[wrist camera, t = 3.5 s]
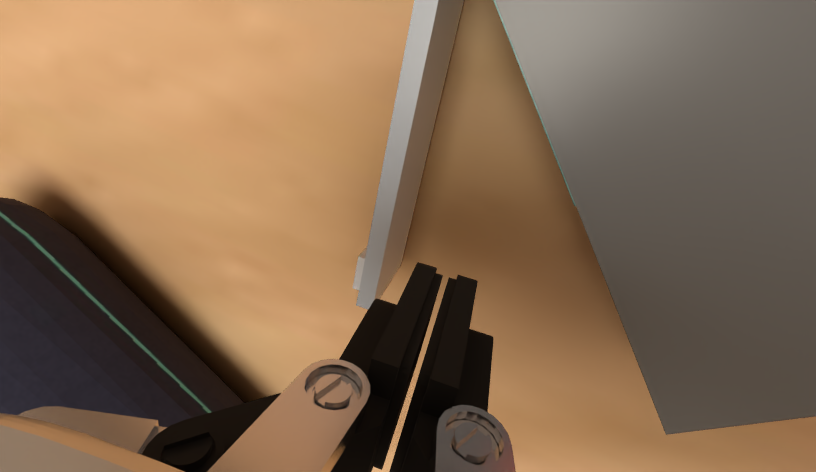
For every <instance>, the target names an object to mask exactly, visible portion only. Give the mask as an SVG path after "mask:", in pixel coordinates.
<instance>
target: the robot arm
mask: <svg viewBox="0 0 816 472" xmlns="http://www.w3.org/2000/svg"><path fill="white" fill-rule="evenodd" d="M436 270H437V268H435V267H432V266H429V265H425V264H422V263H419V262H418V263H417V265H416V267H415V269H414V271H413V273H412V275H411V277H410V279H409V281H408V283H407V285H406V287H405V290H404V292H403V294H402V296H401V298H400V300H399V302H398V304H397V305H395V304H392V303H389V302H386V301H383V300H380V299H377V298H376V299H375V300H374V301H373V303H372V304H371V306H370V308H369V309H368V311H367V313H366V314H365V316H364V318H363V320H362V321H361V323H360V325H359V326H358V328H357V330H356V332H355V333H354V335H353V337H352V338H351V340H350V342H349V344H348V345H347V347H346V349H345V350H344V352H343V354H342V355H341V357H340V359H339V360H338V359H327V360H320V361H318V362H315V363H313V364H311V365H309V366H308V367H307V368H306V369H304V370H303V371H302V372H301V373H300V374H299V375H298V376H297V377H296V379H295V380H294V381H293V382H292V383H291V384H290V385H289V386H288V387H287V388H286V389H285V390H284V391H283V392H282V393H279V394H276V395H272V396H268V397H265V398H261V399H258V400H254V401H250V402H247V403H243V404H240V405H236V406H232V407H229V408H225V409H222V410H218V411H214V412H211V413H207V414H204V415H200V416H197V417H193V418H189V419H186V420H183V421H180V422H178V423H175V424H173V425H170V426H169V427H160V426H159V425H158V420H153V419H146V418H138V417H131V416H124V415H117V414H110V413H103V412H96V411H89V410H81V409H74V408H67V407H60V406H47V407H40V408H36V409H32V410H28V411H25V412H23V413H21V414H19V415H11V414H3V413H0V472H371V471H372V468H373V466H374V467H376V468H379V469H381V470H382V468H383V465H384V462H385V459H386V456H387V453H388V450H389V446H390V443H391V440H392V437H393V434H394V431H395V428H396V425H397V422H398V419H399V416H400V413H401V410H402V407H403V404H404V401H405V397H406V394H407V391H408V388H409V385H410V382H411V379H412V376H413V373H414V370H415V367H416V364H417V361H418V357H419V354H420V351H421V348H422V344H423V341H424V337H425V334H426V331H427V327H428V324H429V321H430V317H431V314H432V310H433V307H434V304H435V300H436V297H437V294H438V290H439V287H440V283H441V280H442V277H443V275H440V274H437V273H436ZM476 287H477V281H476V280H473V279H470V278H467V277H464V276H460V275H458V276H457V279H452V278H449V279H448V282H447V286H446V289H445V292H444V295H443V299H442V302H441V305H440V308H439V312H438V315H437V318H436V321H435V325H434V328H433V331H432V334H431V338H430V341H429V344H428V347H427V351H426V354H425V357H424V360H423V364H422V367H421V370H420V373H419V377H418V380H417V383H416V387H415V390H414V393H413V396H412V400H411V403H410V406H409V410H408V413H407V416H406V419H405V423H404V426H403V429H402V432H401V436H400V439H399V442H398V446H397V449H396V452H395V455H394V459H393V462H392V465H391V469H390V472H516V471H515V465H514V458H513V451H512V445H511V442H510V439H509V435H508V433H507V432H506V430H505V429H504V427H503V425H502V424H501V423H500V422H499V421H498V420H497V419H496V418H495V417H494V416H492V415H491V414H489V413H488V412H487V409H488V397H489V385H490V373H491V361H492V350H493V337H492V336H490V335H487V334H483V333H480V332H477V331H474V330H471V329H469V327H470V322H471V316H472V310H473V304H474V299H475V293H476Z"/></svg>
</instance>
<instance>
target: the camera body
mask: <svg viewBox="0 0 816 472" xmlns="http://www.w3.org/2000/svg"><path fill="white" fill-rule="evenodd" d="M493 1H494V3H495V6H496V8H497V11H498V13H499V16H500V19H501V21H502V24H503V26H504V29H505V31H506V34H507V36H508V39H509V41H510V44H511V46H512V49H513V51H514V54H515V57H516V59H517V62H518V64H519V67H520V69H521V72H522V74H523V77H524V79H525V82H526V84H527V87H528V89H529V92H530V95H531V97H532V100H533V102H534V105H535V107H536V110H537V112H538V115H539V117H540V120H541V122H542V125H543V127H544V130H545V133H546V135H547V138H548V140H549V143H550V145H551V148H552V150H553V153H554V155H555V158H556V160H557V163H558V165H559V168H560V171H561V173H562V176H563V178H564V181H565V183H566V186H567V188H568V191H569V193H570V196H571V198H572V201H573V203H574V206H576V207H577V210H578V212H579V215H580V217H581V220H582V222H583V225H584V227H585V230H586V233H587V235H588V238H589V240H590V243H591V245H592V248H593V250H594V253H595V255H596V258H597V261H598V263H599V266H600V268H601V271H602V273H603V276H604V278H605V281H606V283H607V286H608V288H609V291H610V294H611V296H612V299H613V301H614V304H615V306H616V309H617V311H618V314H619V316H620V319H621V321H622V324H623V327H624V329H625V332H626V334H627V337H628V339H629V342H630V344H631V347H632V349H633V352H634V354H635V357H636V360H637V362H638V365H639V367H640V370H641V372H642V375H643V377H644V380H645V382H646V385H647V388H648V390H649V393H650V395H651V398H652V400H653V403H654V405H655V408H656V410H657V413H658V415H659V418H660V421H661V423H662V426H663V428H664V431H665V433H666V435H667V434H675V433H683V432H691V431H699V430H707V429H716V428H724V427H732V426H740V425H748V424H756V423H765V422H773V421H781V420H789V419H797V418H805V417H814V416H816V0H493Z"/></svg>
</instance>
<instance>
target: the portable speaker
mask: <svg viewBox="0 0 816 472" xmlns="http://www.w3.org/2000/svg"><path fill="white" fill-rule="evenodd" d="M243 403H244V402H243V401H242V400H241V399H240V398H239V397H238V396H237V395H236V394H235V393H234V392H233V391H232V390H231V389H230V388H229V387H228V386H227V385H226V384H225V383H224V382H223V381H222V380H221V379H220V378H219V377H218V376H217V375H216V374H215V373H214V372H213V371H212V370H211V369H210V368H209V367H208V366H207V365H205V364H204V363H203V362H202V361H201V360H200V359H199V358H198V357H197V356H196V355H195V354H194V353H193V352H192V351H191V350H190V349H189V348H188V347H187V346H186V345H185V344H184V343H183V342H182V341H181V340H180V339H179V338H178V337H177V336H176V335H175V334H174V333H173V332H172V331H171V330H170V329H169V328H168V327H167V326H166V325H165V324H164V323H163V322H162V321H161V320H160V319H159V318H158V317H157V316H156V315H155V314H154V313H153V312H152V311H151V310H150V309H149V308H148V307H147V306H146V305H145V304H144V303H143V302H142V301H141V300H140V299H139V298H138V297H137V296H136V295H135V294H134V293H133V292H132V291H131V290H130V289H129V288H128V287H127V286H126V285H125V284H124V283H123V282H122V281H121V280H120V279H119V278H118V277H117V276H116V275H115V274H114V273H113V272H112V271H111V270H110V269H109V268H108V267H107V266H106V265H105V264H104V263H103V262H102V261H101V260H100V259H99V258H98V257H97V256H96V255H95V254H94V253H93V252H91V251H90V250H89V249H88V248H87V247H86V246H85V245H84V244H83V243H82V242H81V241H80V240H79V239H78V238H77V237H76V236H75V235H74V234H72V233H71V232H70V231H68V230H67V229H65V228H64V227H63V226H61V225H60V224H59V223H57V222H56V221H55V220H53V219H52V218H50V217H49V216H48V215H46V214H45V213H44V212H42V211H40V210H38V209H37V208H34V207H32V206H29V205H27V204H24V203H22V202H20V201H17V200H15V199H8V198H0V413H3V414H11V415H19V414H21V413H23V412H25V411H28V410H32V409H36V408H40V407H47V406H60V407H67V408H74V409H81V410H89V411H96V412H103V413H110V414H117V415H124V416H131V417H138V418H146V419H153V420H158V425H159V426H160V427H169V426H170V425H173V424H175V423H178V422H180V421H183V420H186V419H189V418H193V417H197V416H200V415H204V414H207V413H211V412H214V411H218V410H222V409H225V408H229V407H232V406H236V405H240V404H243Z"/></svg>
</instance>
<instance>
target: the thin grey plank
mask: <svg viewBox="0 0 816 472" xmlns="http://www.w3.org/2000/svg"><path fill="white" fill-rule="evenodd" d="M463 3H464V0H414V5H413V11H412V16H411V21H410V26H409V31H408V37H407V42H406V47H405V52H404V58H403V63H402V68H401V73H400V79H399V84H398V89H397V94H396V100H395V105H394V110H393V115H392V120H391V126H390V131H389V136H388V141H387V147H386V152H385V157H384V162H383V168H382V173H381V178H380V183H379V188H378V194H377V199H376V204H375V209H374V215H373V220H372V225H371V230H370V236H369V241H368V246H367V247H366V248H365V250H364V251H363V252H362V253H361V254H360V255H359V256H358V261H357V267H356V272H355V278H354V283H353V288H354V289H357V290H359V293H358V298H357V304H356V305H357V306H360V307H362V308H365V309H369V308H370V306H371V304H372V303H373V301H374V300H375V299H376V298H377V299H380V297H381V296H382V294H383V293H384V291H385V289H386V288H387V286H388V285H389V283H390V282H391V280H392V278H393V277H394V275H395V274H396V272H397V270H398V269H399V267H400V266H401V263H402V258H403V254H404V250H405V246H406V242H407V237H408V233H409V229H410V225H411V221H412V217H413V212H414V208H415V204H416V200H417V196H418V191H419V187H420V183H421V179H422V175H423V170H424V166H425V162H426V158H427V154H428V149H429V145H430V141H431V137H432V133H433V129H434V124H435V120H436V116H437V112H438V108H439V103H440V99H441V95H442V91H443V87H444V82H445V78H446V74H447V70H448V66H449V61H450V57H451V53H452V49H453V45H454V41H455V36H456V32H457V28H458V24H459V20H460V15H461V11H462V7H463Z"/></svg>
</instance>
